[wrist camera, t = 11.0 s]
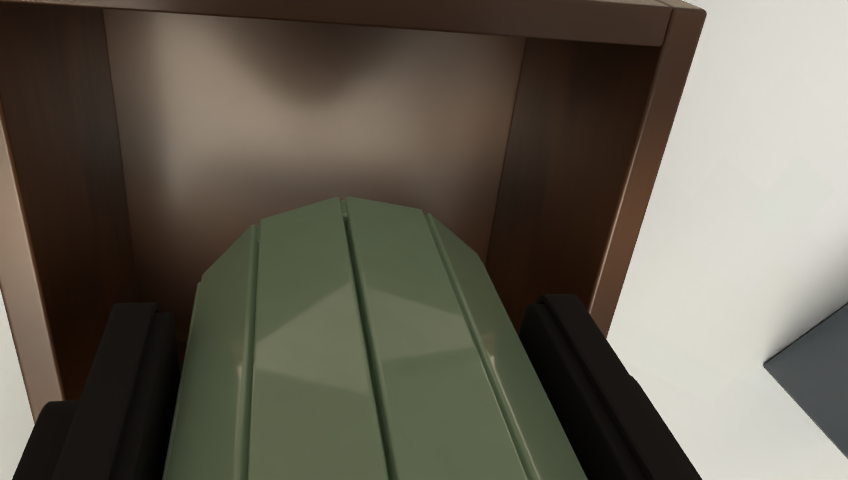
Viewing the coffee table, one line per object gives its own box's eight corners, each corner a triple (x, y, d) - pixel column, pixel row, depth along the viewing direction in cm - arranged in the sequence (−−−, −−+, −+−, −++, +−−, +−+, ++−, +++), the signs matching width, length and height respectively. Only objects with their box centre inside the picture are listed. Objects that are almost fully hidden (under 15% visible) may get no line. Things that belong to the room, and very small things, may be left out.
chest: (64, -100, 16) (-90, -56, 9) (557, -51, 18) (710, 10, 12) (128, 346, 22) (66, 554, 16) (483, 335, 25) (554, 510, 18)
